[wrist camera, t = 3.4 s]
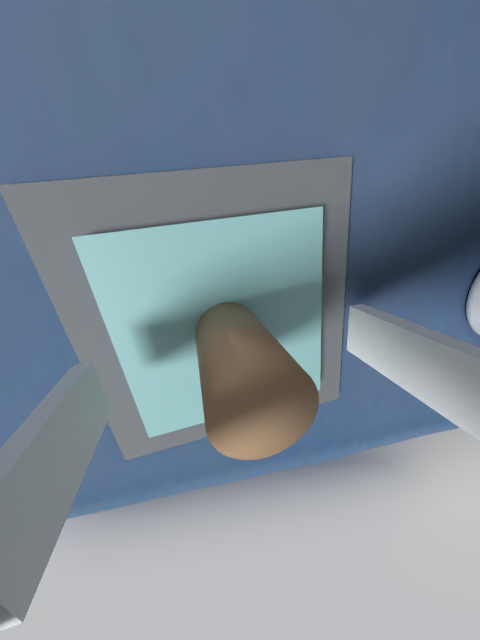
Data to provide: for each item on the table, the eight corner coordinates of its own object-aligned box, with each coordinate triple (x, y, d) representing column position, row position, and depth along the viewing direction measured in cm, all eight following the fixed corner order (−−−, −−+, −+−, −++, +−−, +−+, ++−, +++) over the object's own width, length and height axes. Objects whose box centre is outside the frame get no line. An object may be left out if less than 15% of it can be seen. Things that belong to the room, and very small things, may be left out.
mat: (5, 187, 10) (-3, 185, 10) (346, 158, 13) (352, 155, 13) (127, 454, 17) (125, 460, 17) (335, 394, 20) (338, 398, 20)
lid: (80, 237, 11) (-115, 236, 4) (313, 208, 13) (468, 172, 6) (151, 426, 16) (123, 584, 9) (313, 382, 18) (399, 478, 11)
